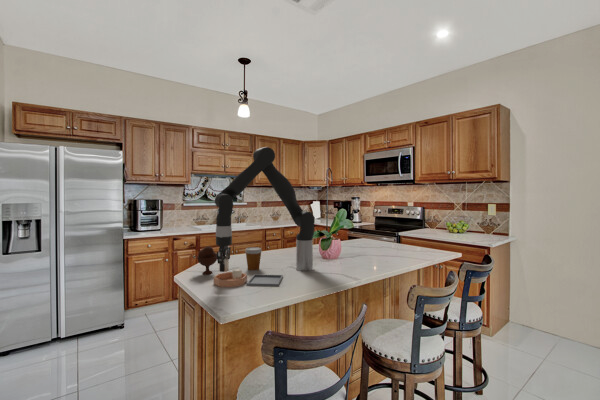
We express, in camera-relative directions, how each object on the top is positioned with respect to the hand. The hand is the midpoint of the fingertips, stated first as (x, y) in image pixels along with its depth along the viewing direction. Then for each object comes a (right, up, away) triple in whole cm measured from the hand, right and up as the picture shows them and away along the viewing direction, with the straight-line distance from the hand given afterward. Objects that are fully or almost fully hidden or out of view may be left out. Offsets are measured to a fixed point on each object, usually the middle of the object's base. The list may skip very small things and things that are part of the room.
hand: (223, 270), depth 144 cm
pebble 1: (0, 0, 0) cm, 0 cm away
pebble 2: (+7, -6, 0) cm, 9 cm away
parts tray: (+20, -6, +2) cm, 21 cm away
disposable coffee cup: (+10, -6, +25) cm, 28 cm away
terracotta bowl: (+3, -6, 0) cm, 7 cm away
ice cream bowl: (-13, -6, +17) cm, 23 cm away
